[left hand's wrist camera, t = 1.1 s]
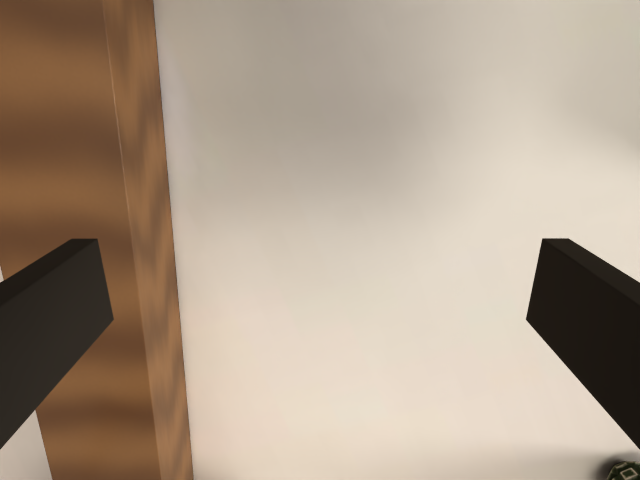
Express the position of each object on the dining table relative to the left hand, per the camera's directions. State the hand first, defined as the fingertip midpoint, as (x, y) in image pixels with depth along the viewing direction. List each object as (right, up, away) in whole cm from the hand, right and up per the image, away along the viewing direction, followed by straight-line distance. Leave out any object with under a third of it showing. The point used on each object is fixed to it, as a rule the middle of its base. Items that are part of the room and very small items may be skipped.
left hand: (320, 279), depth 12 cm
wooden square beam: (-17, -3, +24) cm, 30 cm away
